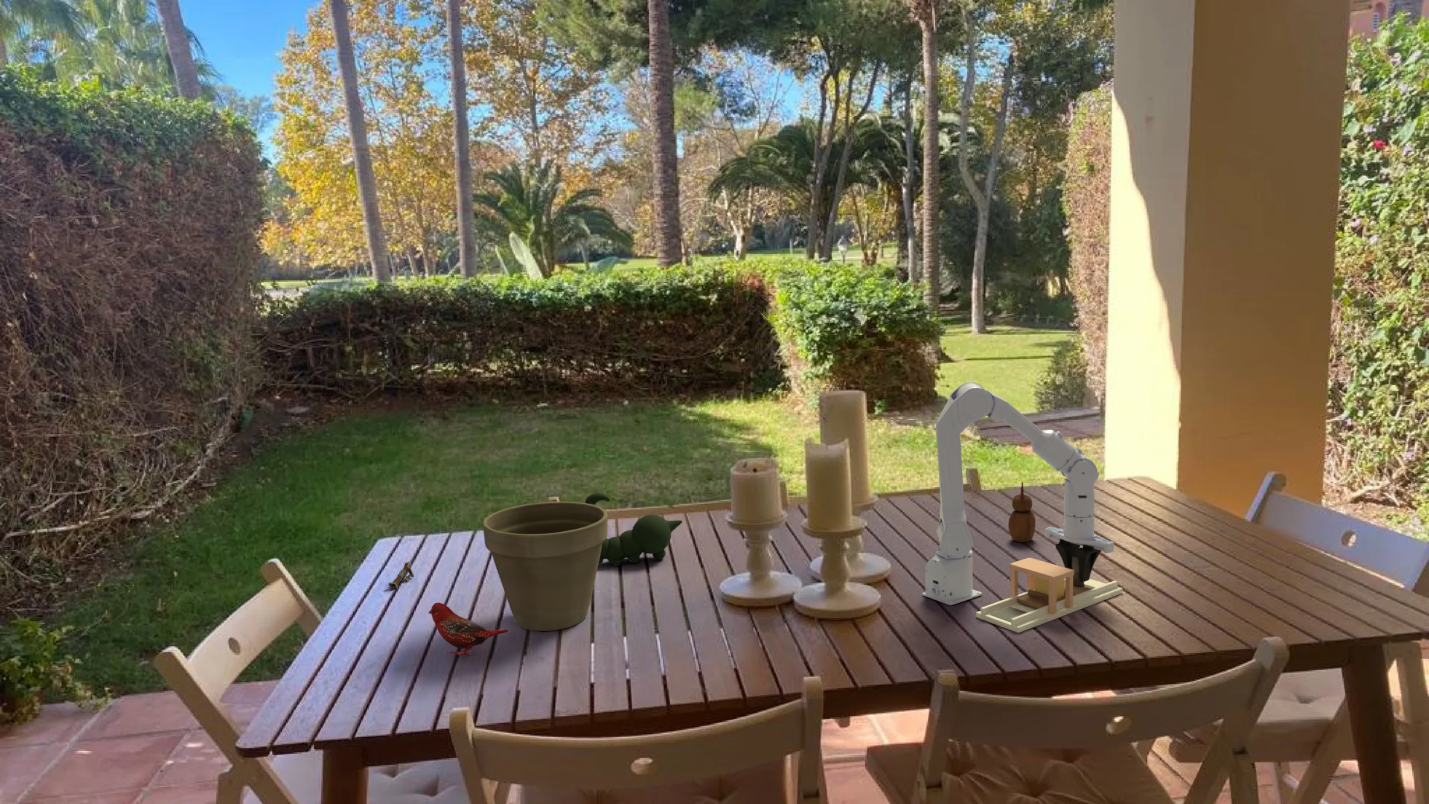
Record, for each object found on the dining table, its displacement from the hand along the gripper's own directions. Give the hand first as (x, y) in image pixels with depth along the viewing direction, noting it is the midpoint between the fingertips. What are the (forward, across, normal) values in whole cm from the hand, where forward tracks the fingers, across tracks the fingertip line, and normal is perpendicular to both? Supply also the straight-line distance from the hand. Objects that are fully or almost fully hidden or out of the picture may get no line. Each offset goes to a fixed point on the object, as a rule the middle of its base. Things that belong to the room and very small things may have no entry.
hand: (1078, 578), depth 188 cm
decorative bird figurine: (+4, +51, +110) cm, 121 cm away
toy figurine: (+4, +81, +60) cm, 101 cm away
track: (+3, 0, +9) cm, 9 cm away
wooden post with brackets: (+4, +103, +109) cm, 150 cm away
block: (+1, 0, +9) cm, 9 cm away
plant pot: (+4, +59, +90) cm, 107 cm away
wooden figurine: (+4, +31, -21) cm, 38 cm away
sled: (+2, 0, +7) cm, 7 cm away
